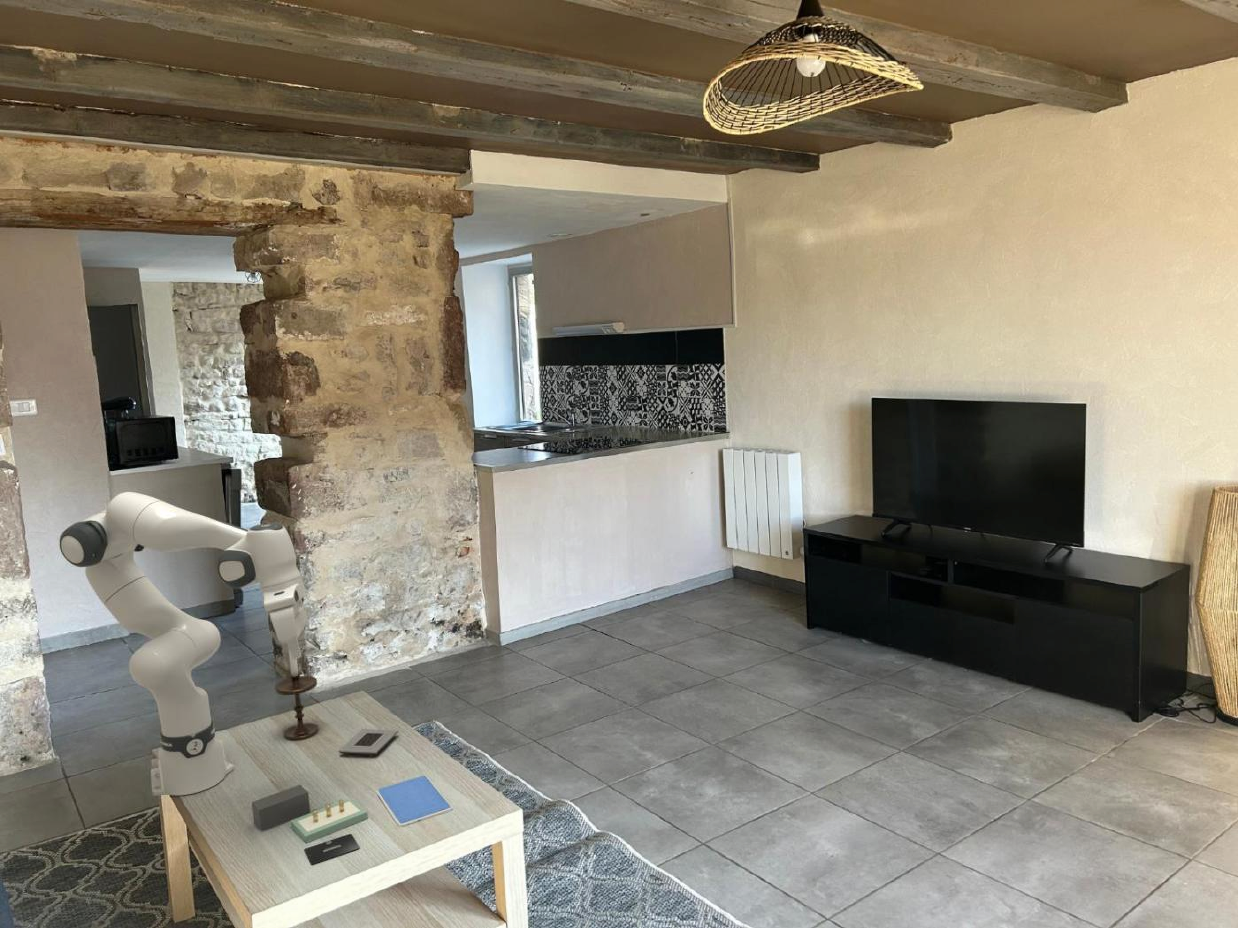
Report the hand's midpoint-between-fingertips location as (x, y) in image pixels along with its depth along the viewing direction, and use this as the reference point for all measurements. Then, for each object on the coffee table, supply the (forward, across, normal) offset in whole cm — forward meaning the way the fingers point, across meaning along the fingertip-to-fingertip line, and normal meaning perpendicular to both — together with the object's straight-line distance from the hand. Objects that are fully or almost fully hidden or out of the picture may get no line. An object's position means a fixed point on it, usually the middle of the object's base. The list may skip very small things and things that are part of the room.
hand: (300, 652), depth 202 cm
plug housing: (+36, -1, -13) cm, 38 cm away
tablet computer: (+41, +1, +15) cm, 44 cm away
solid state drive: (+40, +16, -2) cm, 43 cm away
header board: (+38, +4, -3) cm, 38 cm away
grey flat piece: (+36, -32, +5) cm, 49 cm away
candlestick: (+31, -48, -14) cm, 59 cm away
